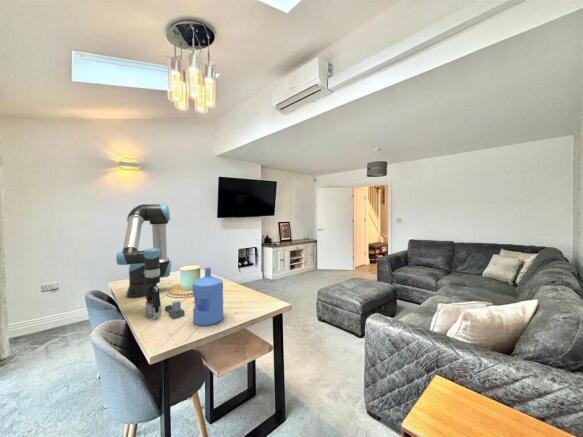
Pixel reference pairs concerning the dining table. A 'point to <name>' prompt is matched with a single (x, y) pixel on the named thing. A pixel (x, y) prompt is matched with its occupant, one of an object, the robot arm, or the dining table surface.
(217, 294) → the water jug
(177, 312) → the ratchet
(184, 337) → the dining table surface
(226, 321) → the dining table surface
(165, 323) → the dining table surface
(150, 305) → the socket
